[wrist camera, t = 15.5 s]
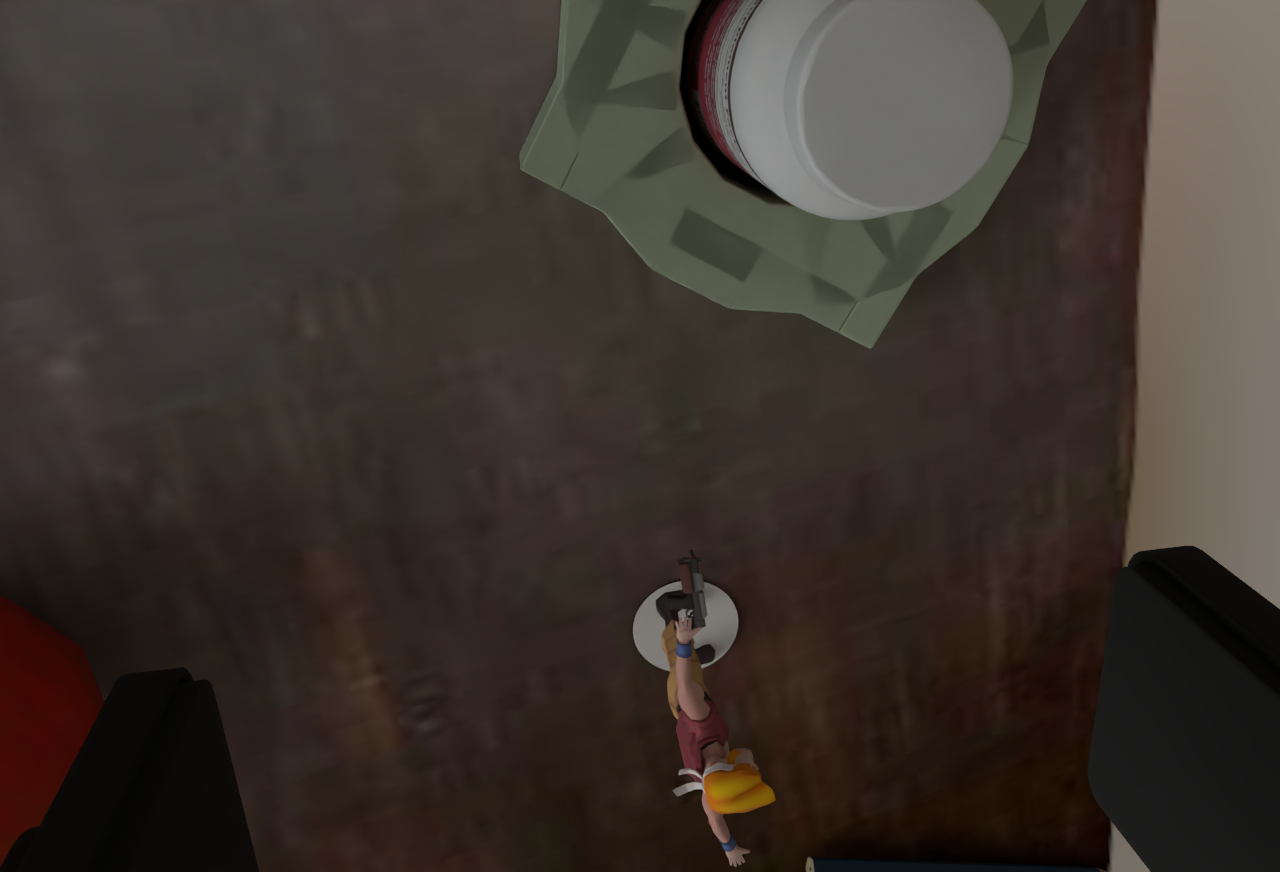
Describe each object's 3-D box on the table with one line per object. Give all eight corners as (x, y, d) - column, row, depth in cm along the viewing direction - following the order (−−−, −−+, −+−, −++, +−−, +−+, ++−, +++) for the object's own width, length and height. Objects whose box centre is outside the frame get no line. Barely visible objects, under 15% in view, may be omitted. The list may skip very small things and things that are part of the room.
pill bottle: (912, -5, 32) (1104, -6, 22) (840, 196, 34) (984, 281, 24) (718, -73, 30) (825, -108, 20) (655, 141, 32) (723, 206, 22)
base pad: (481, 167, 32) (479, 183, 29) (698, -300, 28) (720, -332, 25) (850, 354, 36) (879, 384, 33) (1088, -34, 32) (1143, -37, 29)
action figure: (599, 470, 36) (628, 617, 28) (681, 451, 36) (735, 591, 28) (665, 742, 41) (707, 939, 33) (737, 725, 41) (798, 916, 33)
